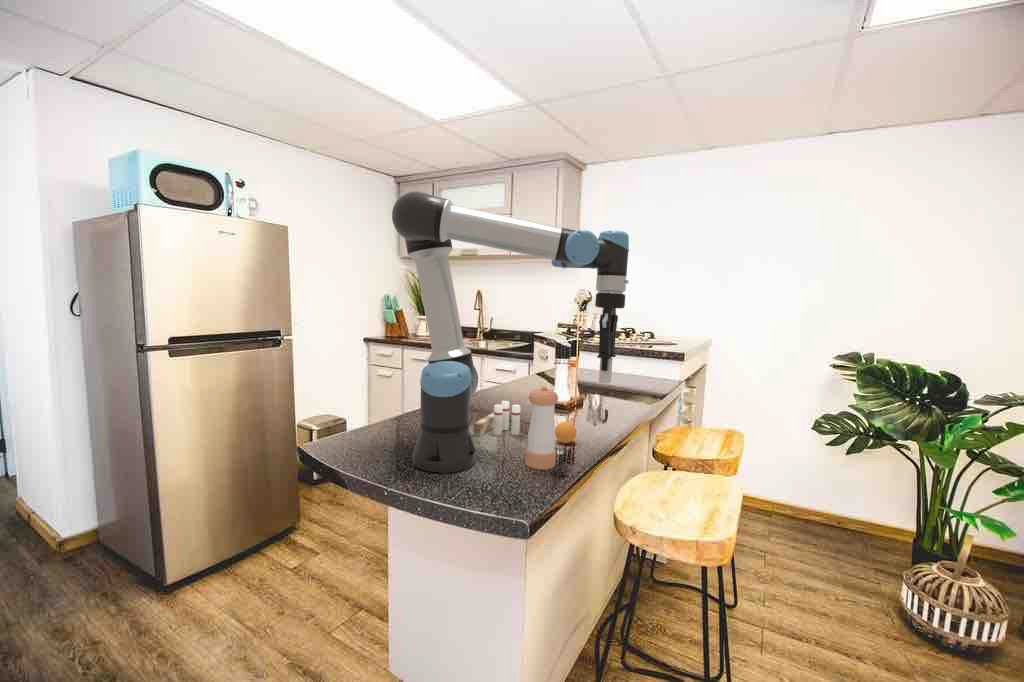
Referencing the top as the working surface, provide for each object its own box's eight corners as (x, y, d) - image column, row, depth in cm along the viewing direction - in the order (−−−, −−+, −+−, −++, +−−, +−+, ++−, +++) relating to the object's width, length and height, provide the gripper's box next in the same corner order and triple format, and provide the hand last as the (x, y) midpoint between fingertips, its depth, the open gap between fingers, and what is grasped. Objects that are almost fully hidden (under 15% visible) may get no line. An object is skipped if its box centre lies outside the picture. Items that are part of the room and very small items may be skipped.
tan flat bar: (479, 436, 126) (479, 424, 126) (473, 435, 127) (473, 423, 126) (499, 423, 139) (500, 412, 138) (494, 422, 140) (494, 411, 139)
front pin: (513, 435, 128) (515, 407, 127) (509, 433, 130) (510, 405, 129) (521, 434, 129) (522, 406, 128) (516, 432, 131) (517, 404, 130)
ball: (563, 447, 120) (564, 426, 119) (549, 440, 125) (550, 420, 124) (580, 444, 123) (581, 423, 122) (566, 437, 128) (567, 417, 127)
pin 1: (495, 435, 127) (496, 407, 126) (491, 433, 129) (492, 404, 128) (503, 434, 128) (504, 406, 127) (498, 432, 131) (499, 403, 130)
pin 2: (503, 431, 132) (504, 403, 131) (498, 428, 134) (499, 401, 133) (510, 429, 133) (511, 402, 132) (505, 427, 135) (506, 400, 134)
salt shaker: (519, 464, 107) (522, 386, 105) (536, 455, 113) (539, 382, 111) (544, 472, 103) (548, 391, 101) (561, 463, 109) (565, 386, 107)
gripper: (620, 293, 107) (614, 388, 110) (629, 293, 120) (623, 378, 123) (590, 291, 110) (584, 385, 113) (601, 292, 123) (596, 375, 126)
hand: (605, 381), depth 118 cm, fingers closed
